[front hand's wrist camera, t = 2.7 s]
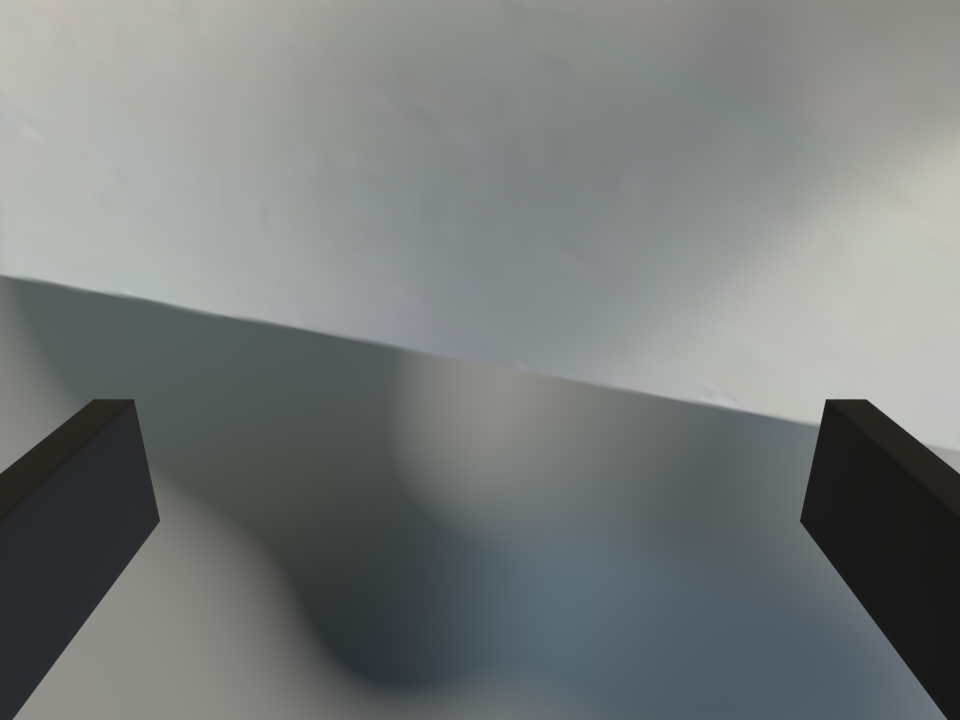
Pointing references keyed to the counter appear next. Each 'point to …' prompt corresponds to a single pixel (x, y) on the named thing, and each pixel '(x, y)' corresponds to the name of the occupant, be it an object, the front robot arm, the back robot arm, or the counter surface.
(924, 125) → the counter surface
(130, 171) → the counter surface
